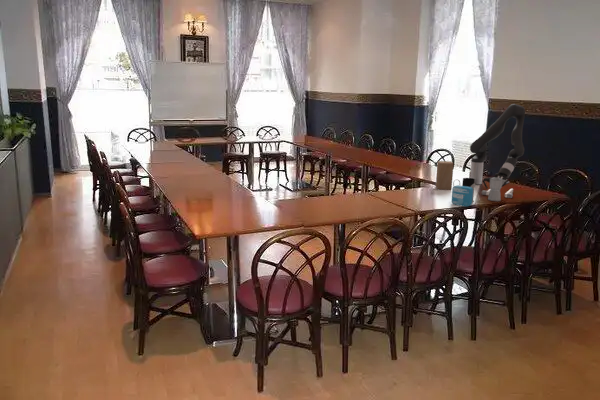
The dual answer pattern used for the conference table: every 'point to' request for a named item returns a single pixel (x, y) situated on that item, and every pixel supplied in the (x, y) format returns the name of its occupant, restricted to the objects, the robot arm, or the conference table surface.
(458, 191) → the data package
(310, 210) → the conference table surface
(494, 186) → the coffee maker
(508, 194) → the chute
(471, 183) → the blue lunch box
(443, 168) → the wooden block
